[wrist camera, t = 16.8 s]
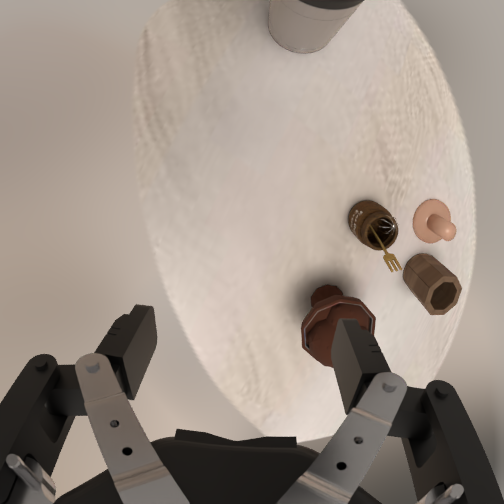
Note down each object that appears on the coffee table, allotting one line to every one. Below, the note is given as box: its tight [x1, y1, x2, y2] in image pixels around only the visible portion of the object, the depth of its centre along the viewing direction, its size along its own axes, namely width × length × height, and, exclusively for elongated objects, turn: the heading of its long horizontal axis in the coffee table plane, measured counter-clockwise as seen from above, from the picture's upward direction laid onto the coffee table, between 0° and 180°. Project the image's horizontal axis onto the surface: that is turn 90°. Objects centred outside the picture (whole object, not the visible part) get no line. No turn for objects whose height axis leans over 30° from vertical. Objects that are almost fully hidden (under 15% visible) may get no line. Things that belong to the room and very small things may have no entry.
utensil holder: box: [349, 201, 402, 272], centre depth 39 cm, size 6×6×12 cm
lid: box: [413, 199, 456, 243], centre depth 42 cm, size 7×7×6 cm
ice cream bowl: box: [301, 285, 376, 368], centre depth 43 cm, size 11×11×15 cm
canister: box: [403, 253, 462, 315], centre depth 44 cm, size 6×6×9 cm
